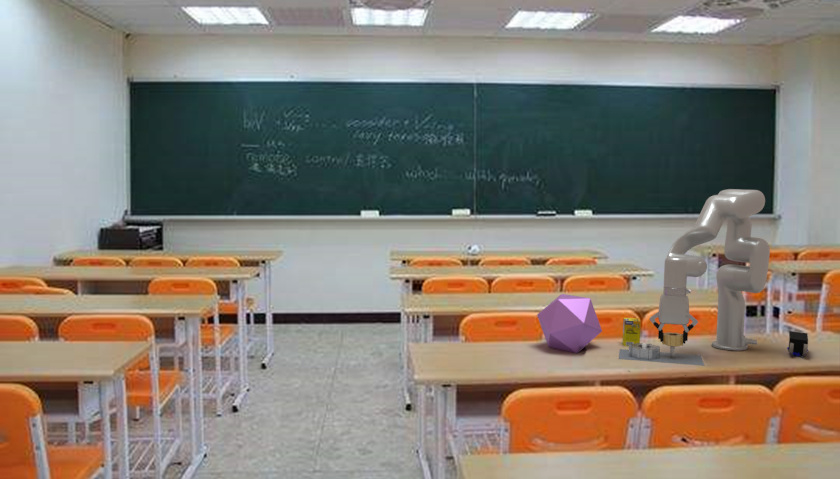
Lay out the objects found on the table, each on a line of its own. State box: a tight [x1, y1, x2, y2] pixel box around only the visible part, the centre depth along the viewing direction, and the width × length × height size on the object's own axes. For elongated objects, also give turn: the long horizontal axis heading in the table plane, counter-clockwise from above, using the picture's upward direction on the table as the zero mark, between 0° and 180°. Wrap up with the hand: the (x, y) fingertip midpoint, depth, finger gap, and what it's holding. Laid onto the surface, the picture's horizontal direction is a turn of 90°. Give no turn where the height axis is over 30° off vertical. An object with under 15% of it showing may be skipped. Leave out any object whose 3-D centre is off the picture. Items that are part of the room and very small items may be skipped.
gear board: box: [618, 342, 705, 367], centre depth 256 cm, size 28×15×6 cm, turn 73°
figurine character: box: [787, 330, 809, 359], centre depth 266 cm, size 7×8×15 cm
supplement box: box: [622, 317, 642, 347], centre depth 274 cm, size 6×6×11 cm
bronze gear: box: [661, 331, 684, 348], centre depth 256 cm, size 7×7×4 cm
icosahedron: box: [536, 293, 603, 354], centre depth 272 cm, size 22×21×24 cm
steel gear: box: [628, 342, 661, 360], centre depth 257 cm, size 10×10×4 cm
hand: (672, 341), depth 256 cm, fingers closed on bronze gear, 7 cm apart
